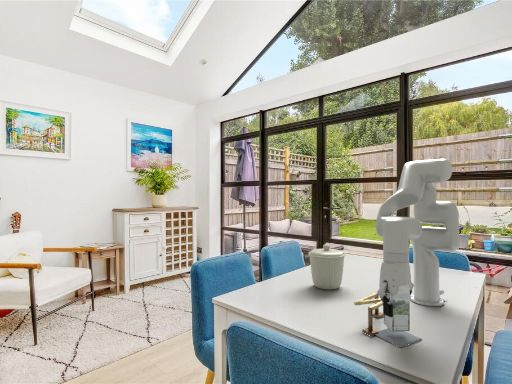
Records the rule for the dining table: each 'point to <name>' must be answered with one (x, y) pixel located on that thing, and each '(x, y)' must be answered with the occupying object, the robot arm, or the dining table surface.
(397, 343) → the slate mat
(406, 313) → the syrup box
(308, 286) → the dining table surface
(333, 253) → the canister
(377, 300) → the accordion peg rack
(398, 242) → the robot arm
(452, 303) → the dining table surface
